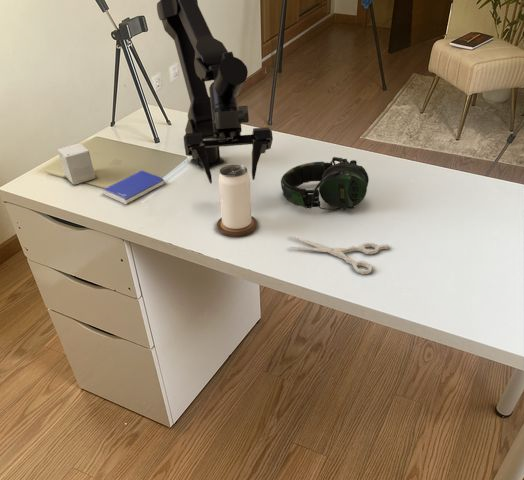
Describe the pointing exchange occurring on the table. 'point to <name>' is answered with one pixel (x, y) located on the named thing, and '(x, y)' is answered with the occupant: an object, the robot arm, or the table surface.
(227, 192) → the can
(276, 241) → the table surface
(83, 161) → the product box
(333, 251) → the scissors
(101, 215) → the table surface
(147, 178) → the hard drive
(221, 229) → the coaster
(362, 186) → the headphones
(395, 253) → the table surface
